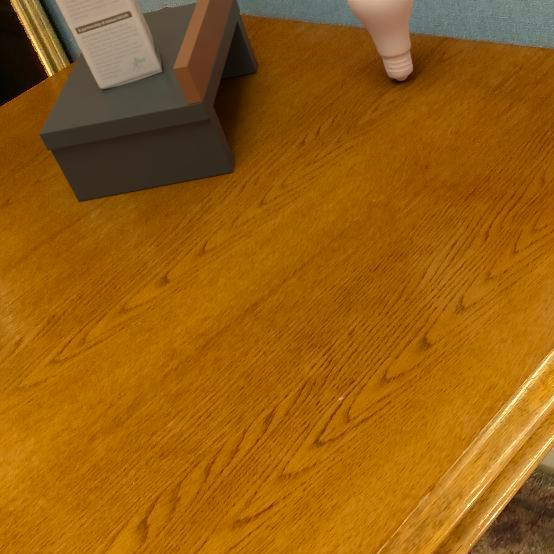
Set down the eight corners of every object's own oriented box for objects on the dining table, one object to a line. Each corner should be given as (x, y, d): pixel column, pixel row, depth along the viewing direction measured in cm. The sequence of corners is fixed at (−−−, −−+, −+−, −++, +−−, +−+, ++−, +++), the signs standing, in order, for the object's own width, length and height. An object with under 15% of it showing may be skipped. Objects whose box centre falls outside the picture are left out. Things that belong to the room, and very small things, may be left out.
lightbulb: (394, 101, 91) (360, -28, 83) (358, 84, 95) (322, -41, 87) (446, 74, 93) (418, -55, 85) (409, 58, 97) (378, -67, 89)
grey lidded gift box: (77, 204, 87) (18, 98, 80) (126, 87, 103) (81, -11, 96) (232, 175, 87) (187, 65, 80) (258, 62, 102) (222, -39, 95)
